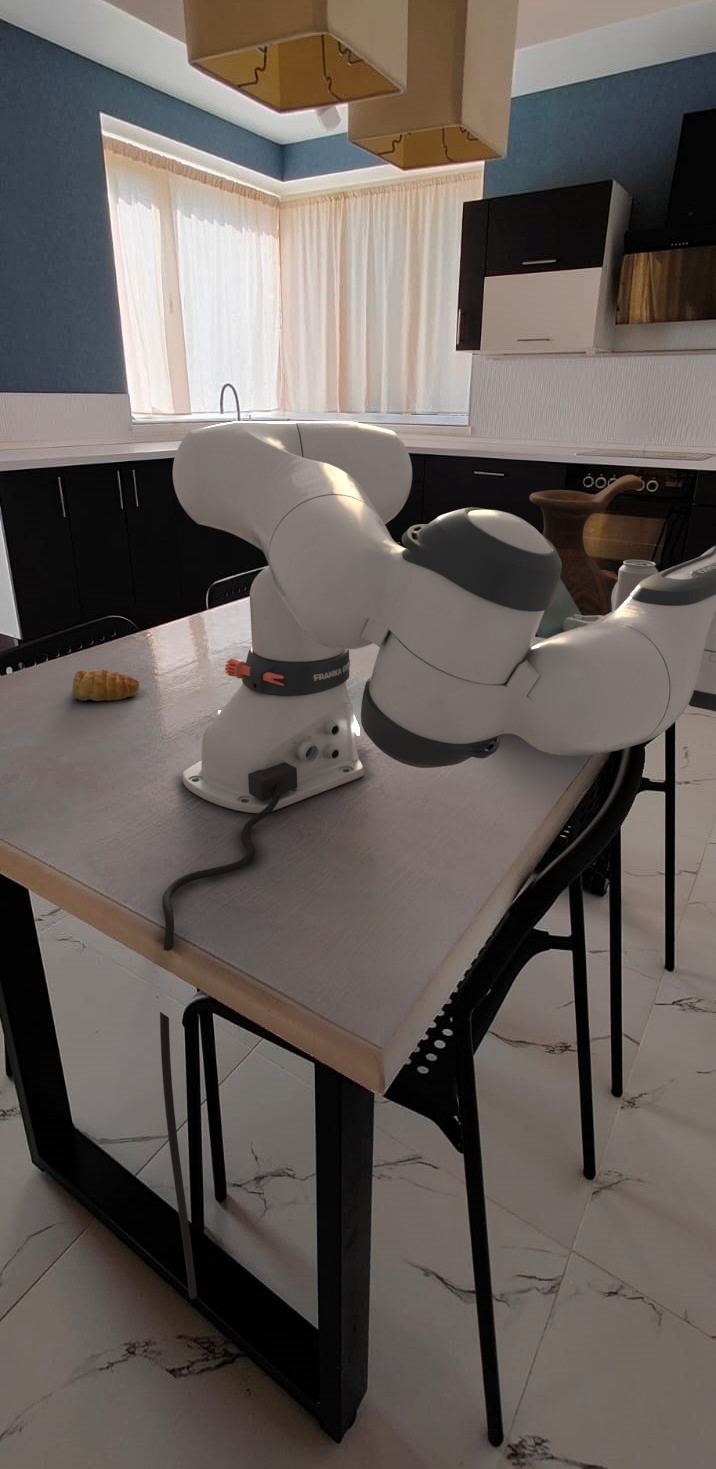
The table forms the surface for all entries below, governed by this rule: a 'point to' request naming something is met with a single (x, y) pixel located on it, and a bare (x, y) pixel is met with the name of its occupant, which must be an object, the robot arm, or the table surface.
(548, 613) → the lid
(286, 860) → the table surface
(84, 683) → the pastry
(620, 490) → the jug
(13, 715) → the table surface
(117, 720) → the table surface
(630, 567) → the can
